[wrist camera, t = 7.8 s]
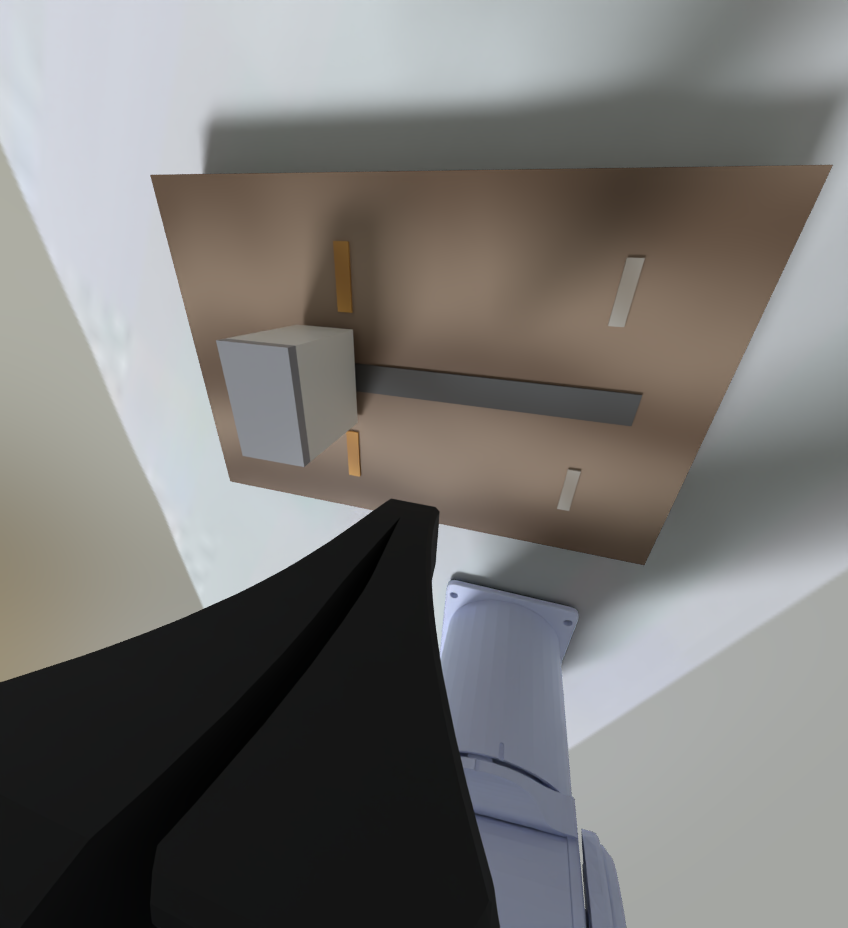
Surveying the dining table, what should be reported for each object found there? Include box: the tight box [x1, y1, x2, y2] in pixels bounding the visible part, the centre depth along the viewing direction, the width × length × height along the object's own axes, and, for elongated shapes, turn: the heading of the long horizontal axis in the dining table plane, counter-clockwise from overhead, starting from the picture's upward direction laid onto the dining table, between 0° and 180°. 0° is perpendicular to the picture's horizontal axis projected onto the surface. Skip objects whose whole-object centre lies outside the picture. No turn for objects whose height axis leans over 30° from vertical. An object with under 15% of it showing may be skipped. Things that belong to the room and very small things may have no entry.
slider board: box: [150, 165, 833, 565], centre depth 16 cm, size 14×22×3 cm, turn 87°
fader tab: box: [216, 325, 358, 467], centre depth 13 cm, size 4×2×4 cm, turn 177°
